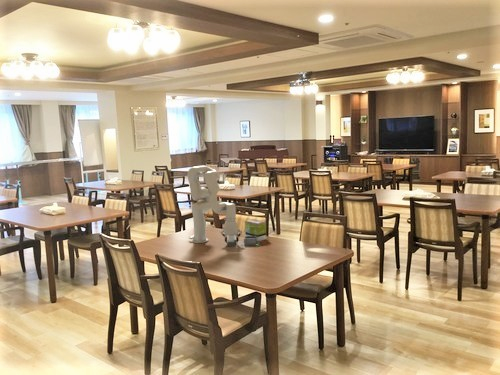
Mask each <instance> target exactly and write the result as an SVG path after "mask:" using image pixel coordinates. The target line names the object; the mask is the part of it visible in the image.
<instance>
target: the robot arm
mask: <svg viewBox="0 0 500 375" xmlns="http://www.w3.org/2000/svg"><path fill="white" fill-rule="evenodd" d="M186 175H187V180H188V183H189V189H190V196H191V199H192V200H193V201H196V202H195V203H193V204H192V206H191V212H192V221H193V235H190V236H188V239H189V240H192V243H195V244H201V243H202V244H203V243H207V242H209V238H207V224H206V222H207V221H206V217H205V213H209V212H211V210H212V211H213V213H215V214H218V215H219V214H222V213H225V217H224V218H223V220H224V229H222V230H221V231H220V234H221V236H223V237H224V242H225V244H227V242H228V237H227V236H229V235H234V236H235V238H236V239H235V240H236V244H237V243H239V238H240V236H241V235H242V233H243V231H242V230H241V229H239V226H238V221H237V217H236V215H237V214H236V210H237V209H236V203H234V202H233V203H232V202H226V201H223V202H219V201H218V198H217V196H218V193H219V191H220V190H221V188H220V185H219V183H218V181H219V180H220V178H221V175H220V173H219V171H217V170H216V169H214V168H212V167H210V166H208V165H196V166H192V167H191V168H189V169H188V171H187V174H186ZM201 177H203V180H204V183H205V185H206V187H204V186H201V181H200V180H199V178H201ZM197 201H198V202H197Z"/></svg>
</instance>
